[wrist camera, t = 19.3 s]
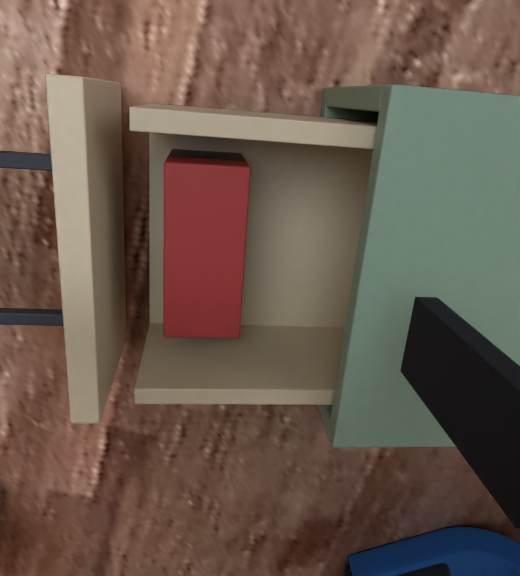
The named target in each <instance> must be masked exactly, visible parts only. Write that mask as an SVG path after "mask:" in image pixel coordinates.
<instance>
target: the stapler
mask: <svg viewBox="0 0 520 576" xmlns="http://www.w3.org/2000/svg"><path fill="white" fill-rule="evenodd" d="M250 176H251V168H250V166H249V165H248V163H247V162H246V160H245V158H244V157H243V155H242V154H241V153H232V152H216V151H201V150H185V149H172V150H171V152H170V153H169V155H168V157H167V159H166V160H165V162H164V246H163V335H164V337H188V338H239V337H240V328H241V313H242V297H243V282H244V267H245V252H246V237H247V221H248V206H249V191H250Z"/></svg>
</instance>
